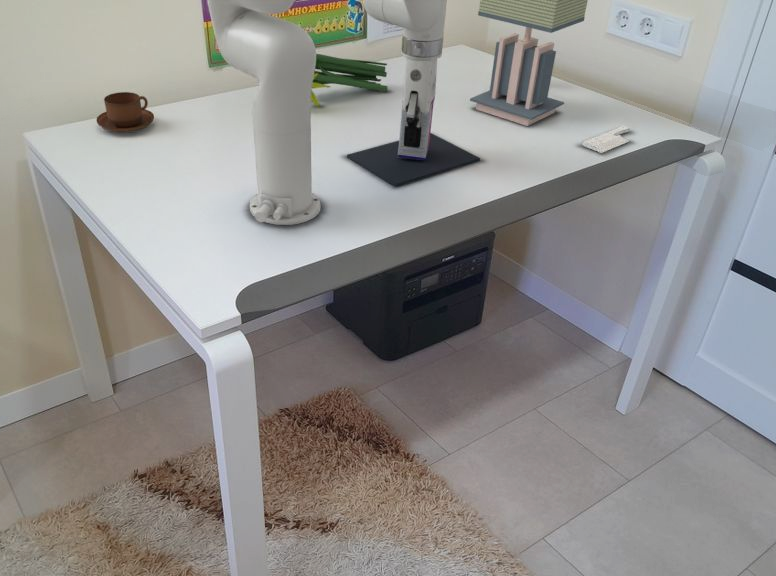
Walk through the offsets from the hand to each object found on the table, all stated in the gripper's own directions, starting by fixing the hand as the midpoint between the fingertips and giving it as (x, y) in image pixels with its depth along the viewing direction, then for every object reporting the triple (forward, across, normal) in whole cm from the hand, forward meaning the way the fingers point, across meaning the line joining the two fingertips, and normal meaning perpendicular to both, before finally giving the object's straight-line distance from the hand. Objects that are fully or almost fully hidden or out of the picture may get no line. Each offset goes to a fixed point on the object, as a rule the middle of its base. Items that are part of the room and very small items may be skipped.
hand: (414, 139), depth 145 cm
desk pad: (+4, 0, 0) cm, 4 cm away
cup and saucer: (+4, -2, +63) cm, 63 cm away
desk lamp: (+4, +34, -18) cm, 39 cm away
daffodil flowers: (+4, +29, +27) cm, 40 cm away
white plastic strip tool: (+4, +22, -40) cm, 46 cm away
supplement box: (+3, 0, 0) cm, 3 cm away
